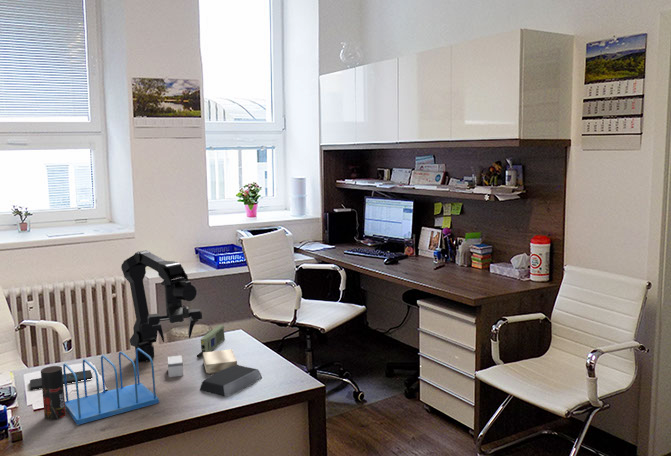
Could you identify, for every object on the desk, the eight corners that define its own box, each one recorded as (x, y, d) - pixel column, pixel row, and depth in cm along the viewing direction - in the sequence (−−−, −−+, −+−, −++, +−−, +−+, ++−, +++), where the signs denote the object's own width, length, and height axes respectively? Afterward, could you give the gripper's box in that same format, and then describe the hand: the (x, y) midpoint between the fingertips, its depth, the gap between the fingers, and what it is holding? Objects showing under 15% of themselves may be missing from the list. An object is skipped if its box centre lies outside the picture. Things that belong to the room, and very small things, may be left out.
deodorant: (48, 412, 192) (45, 366, 190) (68, 411, 193) (64, 365, 191) (41, 421, 186) (37, 373, 184) (61, 419, 187) (57, 372, 185)
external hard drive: (264, 379, 217) (263, 368, 217) (226, 399, 201) (226, 387, 201) (236, 372, 224) (235, 362, 224) (197, 391, 208) (197, 379, 208)
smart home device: (92, 376, 219) (30, 387, 210) (92, 381, 219) (30, 392, 210) (90, 369, 226) (29, 379, 218) (90, 373, 227) (30, 383, 218)
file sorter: (141, 387, 211) (138, 344, 209) (159, 404, 197) (156, 358, 195) (63, 407, 197) (60, 360, 195) (77, 426, 183) (73, 376, 181)
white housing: (168, 377, 220) (168, 364, 219) (168, 369, 228) (167, 356, 227) (183, 375, 222) (182, 362, 221) (182, 368, 229) (181, 355, 229)
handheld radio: (226, 339, 263) (202, 359, 238) (218, 339, 263) (194, 359, 239) (224, 324, 262) (201, 343, 238) (217, 324, 263) (193, 343, 238)
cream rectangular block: (206, 375, 221) (206, 364, 221) (203, 362, 234) (202, 352, 234) (237, 371, 224) (236, 361, 224) (232, 359, 237) (231, 349, 237)
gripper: (147, 305, 211) (151, 349, 213) (202, 299, 217) (205, 342, 219) (146, 299, 221) (149, 341, 223) (198, 293, 228) (201, 334, 230)
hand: (176, 339), depth 223 cm, fingers open, 9 cm apart
